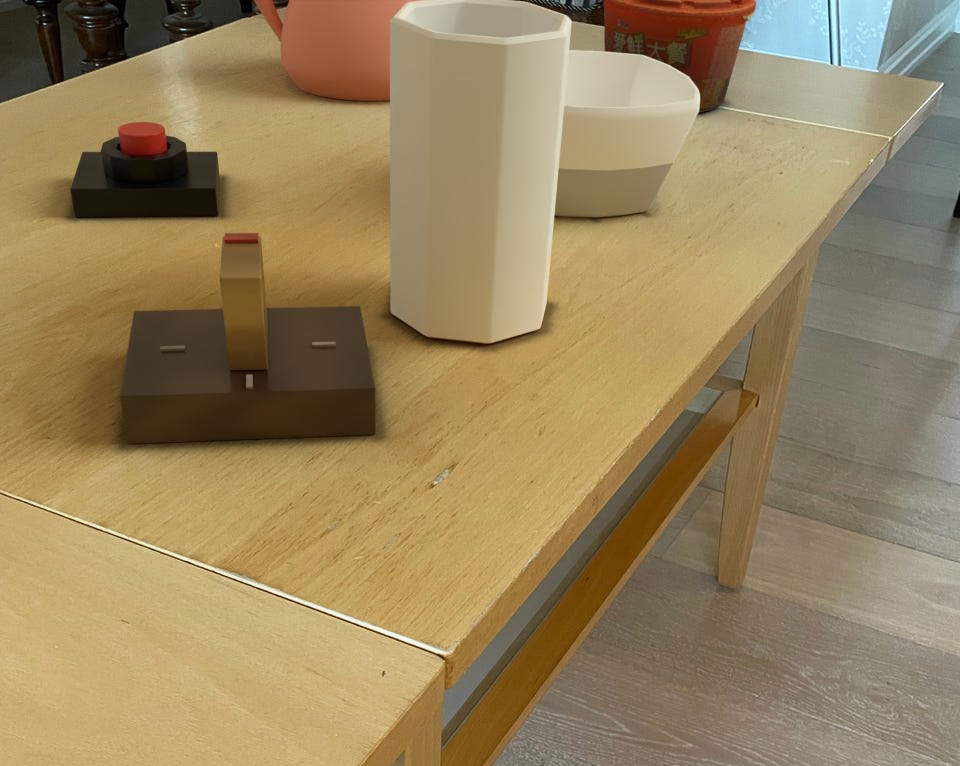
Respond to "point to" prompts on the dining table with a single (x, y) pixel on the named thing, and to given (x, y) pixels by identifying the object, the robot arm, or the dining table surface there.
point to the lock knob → (244, 301)
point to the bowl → (620, 132)
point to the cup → (474, 164)
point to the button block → (146, 182)
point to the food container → (682, 37)
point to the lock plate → (247, 378)
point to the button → (142, 138)
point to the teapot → (336, 45)
